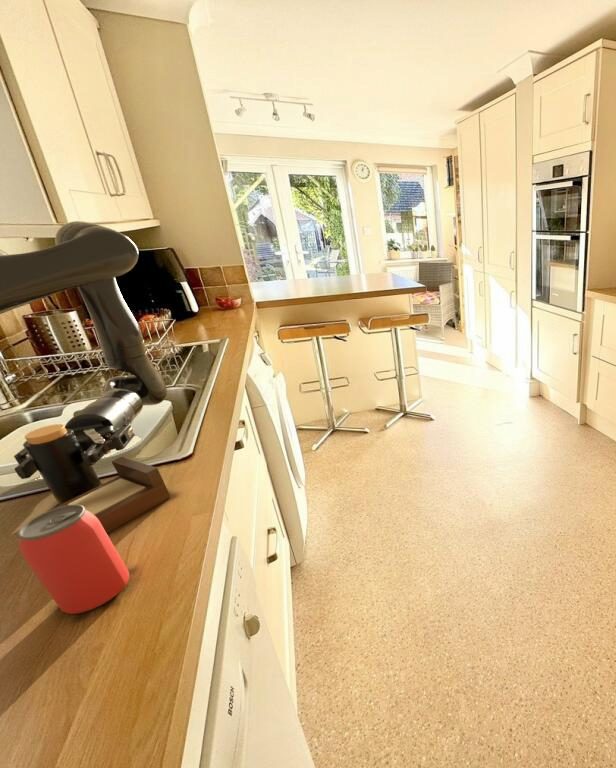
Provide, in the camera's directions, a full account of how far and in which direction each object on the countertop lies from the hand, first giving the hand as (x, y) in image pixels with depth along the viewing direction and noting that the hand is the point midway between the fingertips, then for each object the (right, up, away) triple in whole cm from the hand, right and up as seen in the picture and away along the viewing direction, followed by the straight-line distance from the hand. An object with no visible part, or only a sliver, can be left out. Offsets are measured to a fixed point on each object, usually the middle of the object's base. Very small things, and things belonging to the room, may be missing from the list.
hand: (55, 467), depth 66 cm
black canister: (0, -6, +5) cm, 8 cm away
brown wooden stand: (+9, -7, +1) cm, 12 cm away
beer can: (+21, -14, -13) cm, 28 cm away
